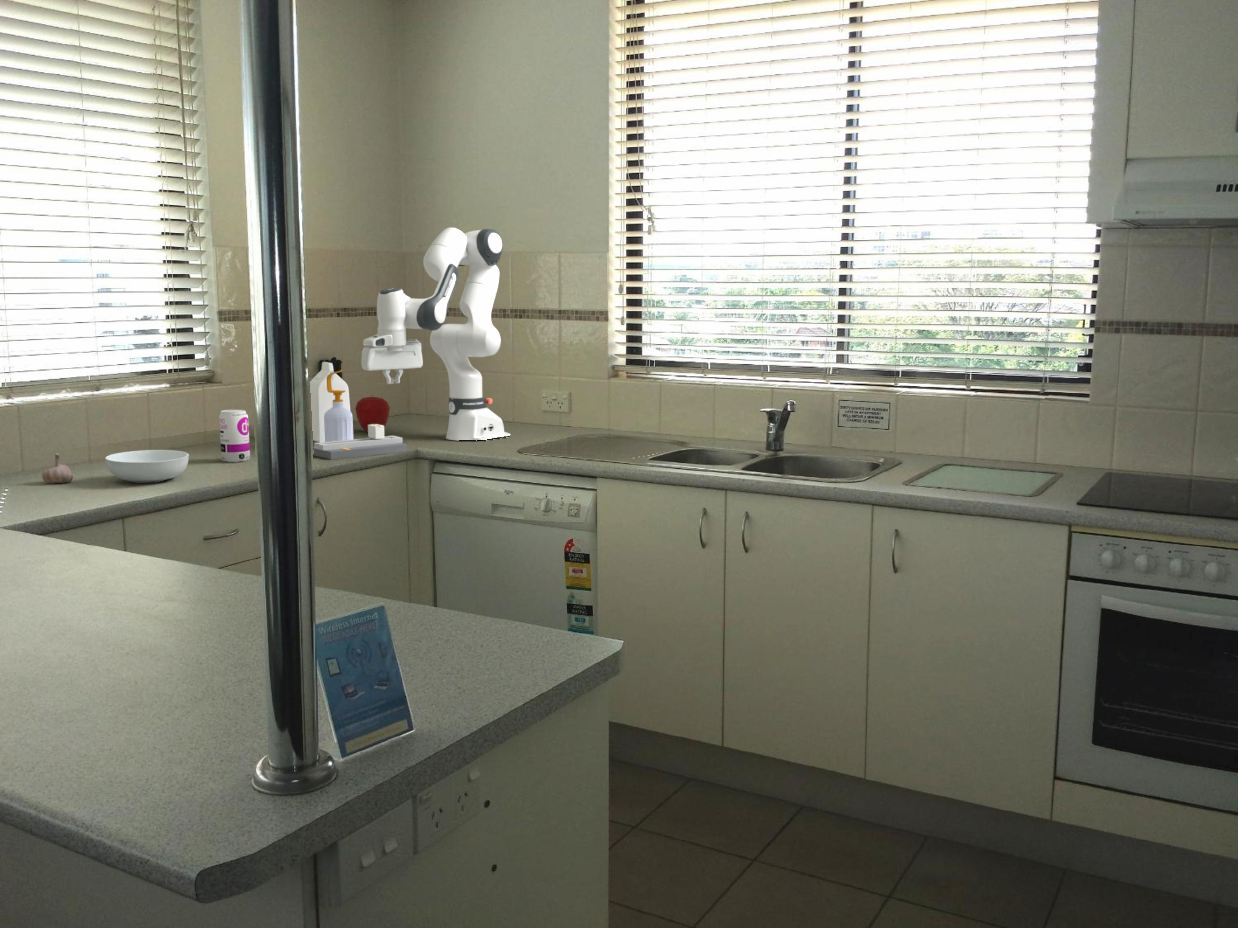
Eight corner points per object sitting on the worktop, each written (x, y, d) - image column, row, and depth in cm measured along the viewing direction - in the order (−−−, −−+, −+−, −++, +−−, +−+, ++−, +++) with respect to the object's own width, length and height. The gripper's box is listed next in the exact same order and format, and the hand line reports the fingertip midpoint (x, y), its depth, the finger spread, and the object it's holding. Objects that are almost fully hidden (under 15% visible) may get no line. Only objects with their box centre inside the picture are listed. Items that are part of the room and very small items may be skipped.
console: (387, 446, 369) (387, 434, 368) (409, 451, 358) (408, 439, 358) (309, 454, 352) (308, 441, 351) (329, 459, 341) (328, 446, 340)
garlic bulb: (78, 483, 302) (76, 453, 300) (49, 486, 296) (47, 456, 295) (66, 479, 306) (63, 450, 305) (37, 483, 301) (35, 453, 300)
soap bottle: (349, 447, 367) (347, 371, 364) (321, 446, 368) (318, 371, 364) (356, 443, 376) (354, 369, 372) (329, 442, 376) (326, 369, 373)
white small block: (376, 441, 361) (376, 423, 360) (384, 443, 357) (384, 425, 356) (368, 442, 359) (367, 424, 358) (376, 444, 355) (375, 426, 355)
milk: (352, 439, 384) (350, 363, 380) (319, 442, 378) (316, 364, 374) (340, 435, 394) (337, 361, 390) (307, 438, 388) (304, 362, 383)
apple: (349, 432, 403) (348, 395, 400) (373, 429, 412) (372, 392, 410) (372, 435, 396) (371, 397, 394) (397, 431, 405) (396, 394, 403)
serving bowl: (106, 489, 292) (104, 463, 291) (107, 476, 311) (105, 452, 310) (192, 484, 300) (190, 458, 299) (187, 472, 319) (186, 447, 318)
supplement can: (255, 459, 341) (253, 410, 339) (238, 463, 334) (235, 413, 331) (233, 457, 344) (230, 408, 342) (215, 462, 336) (212, 411, 334)
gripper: (416, 338, 366) (417, 381, 368) (358, 340, 353) (359, 384, 356) (426, 339, 361) (427, 382, 364) (367, 341, 349) (369, 386, 351)
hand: (393, 383), depth 360 cm, fingers closed
